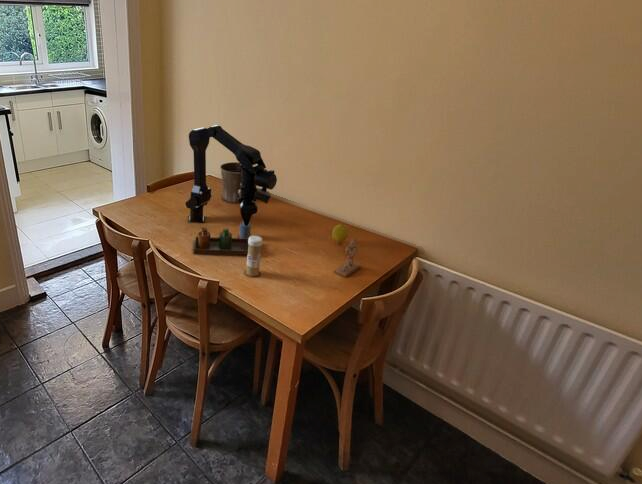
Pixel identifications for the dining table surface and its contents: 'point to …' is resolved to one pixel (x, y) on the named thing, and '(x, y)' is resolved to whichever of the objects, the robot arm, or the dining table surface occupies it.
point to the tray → (237, 248)
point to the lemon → (340, 233)
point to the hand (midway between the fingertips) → (245, 220)
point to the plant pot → (231, 181)
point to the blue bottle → (245, 230)
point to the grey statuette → (349, 266)
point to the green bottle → (225, 240)
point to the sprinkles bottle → (254, 255)
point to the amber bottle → (204, 239)
